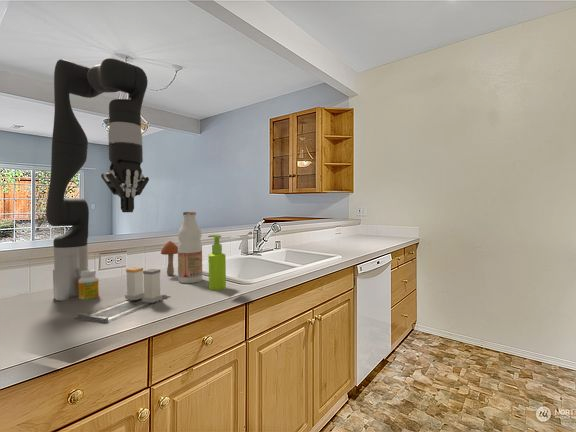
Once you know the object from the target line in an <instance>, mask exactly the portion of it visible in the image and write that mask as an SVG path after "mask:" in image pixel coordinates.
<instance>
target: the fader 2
mask: <svg viewBox="0 0 576 432" xmlns="http://www.w3.org/2000/svg"><path fill="white" fill-rule="evenodd" d="M143 292H144V297H142V301H144V302H151V303H153V302H156V301H158V300H161V299H162V295H160V294H161V269H157V268H156V269H155V268H150V269H146V270H143Z"/></svg>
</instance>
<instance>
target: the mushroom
mask: <svg viewBox="0 0 576 432" xmlns="http://www.w3.org/2000/svg"><path fill="white" fill-rule="evenodd" d="M160 254H161V255H164V256H166V255H167V260H168V261H167V268H166V274H167V276H173V275H174V273H175V268H174V255H178V245H176V244H175V243H174V242H172V241H171V240H169V241H167V242H166V243H165V244H164V246H163V247H162V248H161V251H160Z"/></svg>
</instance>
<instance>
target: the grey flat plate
mask: <svg viewBox="0 0 576 432" xmlns="http://www.w3.org/2000/svg"><path fill="white" fill-rule="evenodd" d="M143 293H144V291H143ZM160 295H162V299H161V300H158V301H156V302H153V303H151V302H144V301H142V298H140V299H137V300H130V299H124V300H122V301H119V302H116V303H113V304H111V305H107V306H105V307H102V308H100V309H96V310H94V311H91V312H87V313H76V317H74V318H73V319H74V320H79V321H85V322H90V323H91V322H92V323H97V324H101V325H102V324H103V325H104V324H105V325H106V324H108V323H111V322H113V321H115V320H118V319H120V318H123V317H125V316H128V315H130V314H133V313H135V312H137V311H140V310H142V309H145V308H147V307H150V306H152V305H154V304H156V303H159V302H162V301H164V300H166V299H169V298H171V297H172V296H171V295H167V294H166V293H165V294H163V293H160Z"/></svg>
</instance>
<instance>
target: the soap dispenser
mask: <svg viewBox="0 0 576 432" xmlns="http://www.w3.org/2000/svg"><path fill="white" fill-rule="evenodd" d="M207 237H208V238H214V239H213V240H214V241H213V242H214V243H213V244H211V253H210V254H208V289H209V290H211V291H219V290H220V291H221V290H223V289H224V290H225V289H227V282H226V281H227V280H226V279H227V278H226V277H227V275H226V274H227V272H226V271H227V270H226V269H227V267H226V266H227V265H226V254H225V253H223V248H222V247H223V245H222V244H221V243H220V239H221V238H222V235H220V234H211V235H207Z"/></svg>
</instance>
